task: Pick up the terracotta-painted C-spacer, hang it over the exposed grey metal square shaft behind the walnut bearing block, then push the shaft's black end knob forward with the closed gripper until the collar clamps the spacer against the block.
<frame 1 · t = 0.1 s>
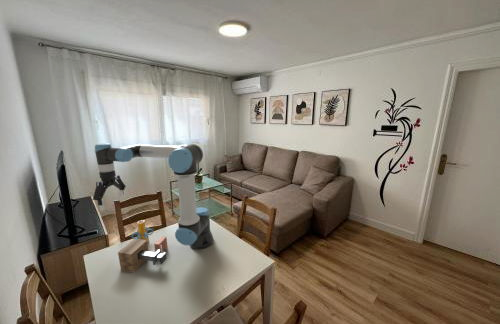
hand: (112, 204, 121), 28 cm above the table, fingers open, 13 cm apart
bearing block: (135, 263, 113), on the table
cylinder: (144, 242, 130), on the table
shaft: (148, 256, 109), point 6 cm above the table, slide at 9.0 cm
spacer: (161, 250, 123), on the table
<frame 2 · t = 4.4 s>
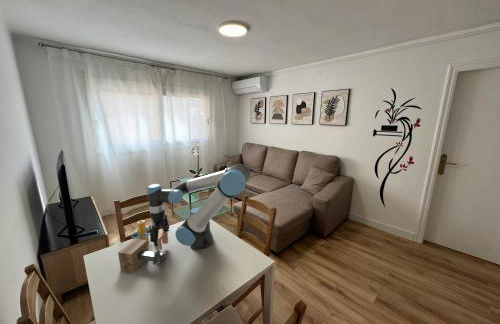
hand: (162, 245, 121), 4 cm above the table, fingers closed on spacer, 8 cm apart
spacer: (162, 245, 122), point 4 cm above the table, touching gripper
everything else where it was.
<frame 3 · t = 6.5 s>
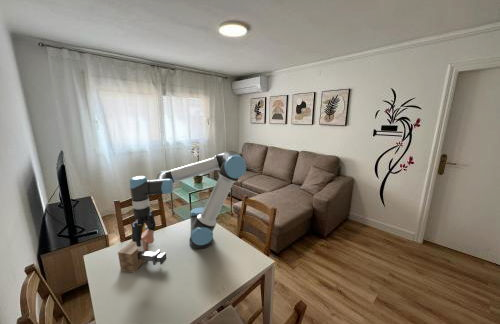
hand: (146, 245, 108), 13 cm above the table, fingers closed on spacer, 8 cm apart
spacer: (146, 245, 108), point 12 cm above the table, touching gripper
everything else where it was.
when the fingers open (2 cm above the table, at t = 8.7 s): spacer stays where it is, resting on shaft.
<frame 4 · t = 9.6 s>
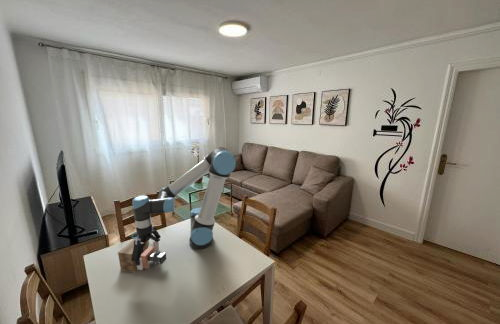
hand: (149, 259, 110), 3 cm above the table, fingers open, 13 cm apart
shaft: (148, 256, 109), point 6 cm above the table, slide at 8.9 cm, touching spacer
spacer: (148, 263, 111), point 1 cm above the table, touching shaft
everything else where it was.
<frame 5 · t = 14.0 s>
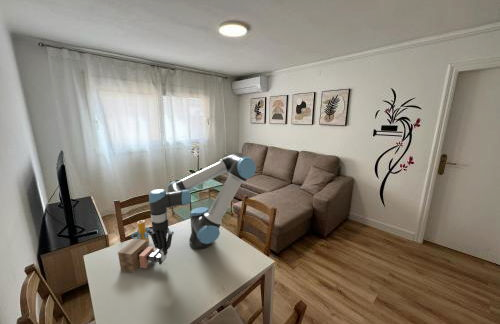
hand: (164, 259, 108), 5 cm above the table, fingers closed
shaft: (147, 255, 110), point 6 cm above the table, slide at 8.4 cm, touching gripper, spacer
everything else where it was.
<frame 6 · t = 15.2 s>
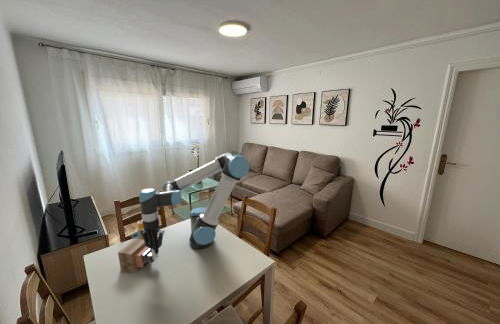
hand: (155, 258, 109), 5 cm above the table, fingers closed
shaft: (139, 254, 110), point 6 cm above the table, slide at 3.3 cm, touching gripper
spacer: (144, 262, 111), point 2 cm above the table
everything else where it was.
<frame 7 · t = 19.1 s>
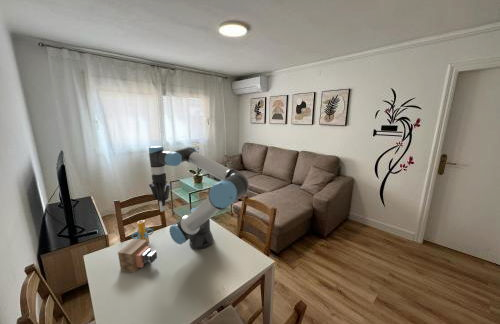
hand: (162, 210, 121), 24 cm above the table, fingers closed
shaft: (139, 254, 111), point 6 cm above the table, slide at 3.2 cm, touching spacer
spacer: (144, 262, 111), point 1 cm above the table, touching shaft
everything else where it was.
at the end: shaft slide at 3.2 cm; spacer 0.5 cm from the target spot on the table beside the bearing block, point 1.5 cm above the table; the gripper is holding nothing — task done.
